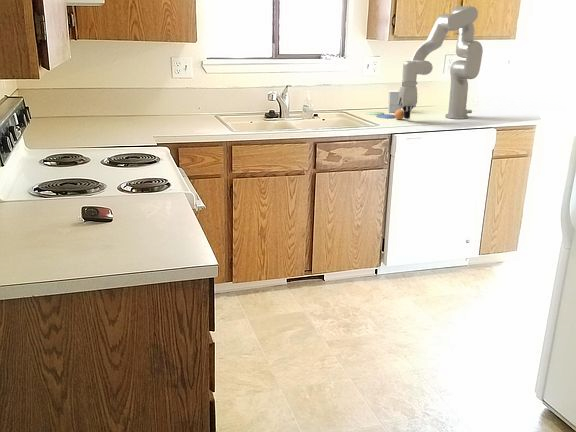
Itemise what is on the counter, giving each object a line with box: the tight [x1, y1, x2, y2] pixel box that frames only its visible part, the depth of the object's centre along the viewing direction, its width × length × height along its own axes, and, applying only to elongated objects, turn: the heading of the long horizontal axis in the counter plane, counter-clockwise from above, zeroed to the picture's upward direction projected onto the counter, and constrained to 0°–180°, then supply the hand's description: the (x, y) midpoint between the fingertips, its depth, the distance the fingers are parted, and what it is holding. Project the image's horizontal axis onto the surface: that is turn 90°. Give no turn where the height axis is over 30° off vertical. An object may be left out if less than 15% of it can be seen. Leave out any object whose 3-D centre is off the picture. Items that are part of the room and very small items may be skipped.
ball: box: [394, 109, 405, 120], centre depth 335 cm, size 6×6×6 cm
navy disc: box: [375, 113, 396, 119], centre depth 345 cm, size 13×13×1 cm
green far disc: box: [367, 111, 385, 116], centre depth 355 cm, size 10×10×1 cm
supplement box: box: [387, 89, 402, 114], centre depth 359 cm, size 7×7×13 cm
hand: (406, 118), depth 330 cm, fingers closed
